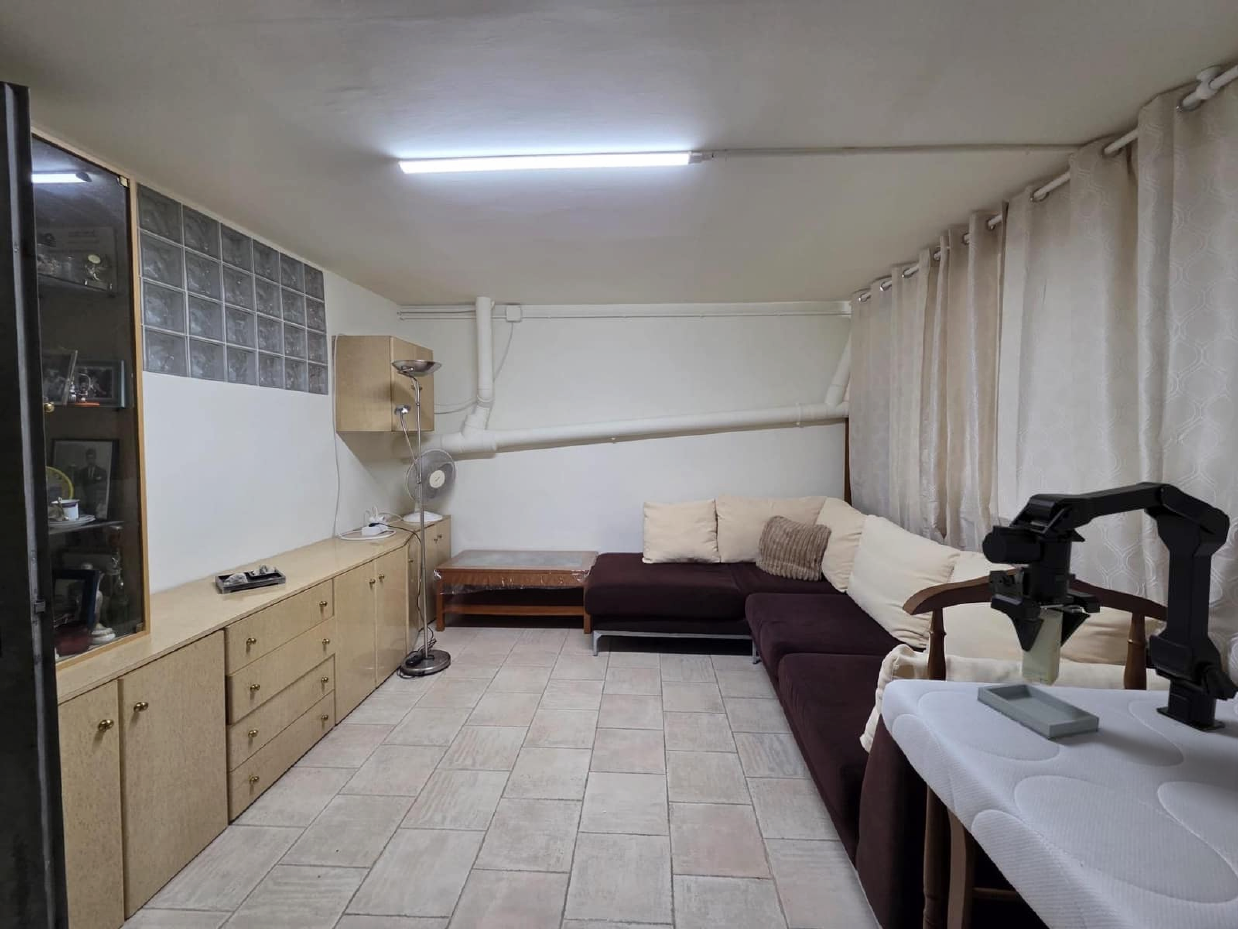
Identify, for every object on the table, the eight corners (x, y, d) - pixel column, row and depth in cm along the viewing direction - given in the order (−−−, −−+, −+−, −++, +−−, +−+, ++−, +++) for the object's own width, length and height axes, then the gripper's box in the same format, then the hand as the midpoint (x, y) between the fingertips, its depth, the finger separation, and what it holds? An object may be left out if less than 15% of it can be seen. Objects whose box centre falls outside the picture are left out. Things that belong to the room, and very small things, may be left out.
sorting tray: (1023, 694, 98) (1024, 681, 98) (1098, 731, 86) (1099, 717, 86) (977, 700, 96) (978, 687, 95) (1048, 739, 83) (1049, 725, 83)
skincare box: (1051, 687, 87) (1056, 619, 86) (1019, 677, 90) (1024, 612, 89) (1059, 677, 91) (1064, 612, 90) (1028, 667, 94) (1033, 605, 93)
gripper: (1039, 552, 99) (1033, 628, 100) (965, 555, 94) (960, 635, 96) (1106, 567, 88) (1098, 652, 89) (1026, 571, 84) (1019, 661, 85)
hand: (1041, 649), depth 90 cm, fingers closed on skincare box, 7 cm apart
